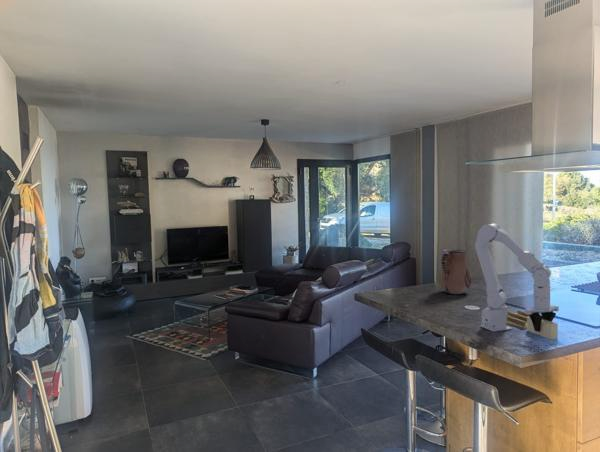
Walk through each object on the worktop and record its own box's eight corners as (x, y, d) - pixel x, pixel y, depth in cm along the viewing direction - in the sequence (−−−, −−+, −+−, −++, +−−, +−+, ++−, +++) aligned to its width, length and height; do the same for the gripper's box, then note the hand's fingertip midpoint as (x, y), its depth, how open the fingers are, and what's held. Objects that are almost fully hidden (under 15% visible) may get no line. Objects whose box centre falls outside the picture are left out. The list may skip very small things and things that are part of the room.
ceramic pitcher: (475, 291, 247) (475, 249, 245) (462, 298, 231) (461, 253, 230) (446, 288, 258) (445, 247, 257) (431, 294, 243) (431, 251, 241)
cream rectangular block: (551, 339, 162) (551, 324, 161) (527, 330, 173) (526, 316, 173) (557, 338, 163) (557, 323, 162) (533, 330, 174) (533, 315, 174)
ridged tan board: (522, 329, 175) (522, 323, 175) (492, 318, 193) (492, 312, 192) (553, 325, 179) (553, 319, 179) (521, 314, 197) (521, 309, 196)
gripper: (534, 300, 161) (534, 335, 162) (565, 297, 165) (565, 331, 166) (520, 296, 168) (520, 330, 169) (550, 293, 172) (550, 326, 173)
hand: (541, 330), depth 168 cm, fingers open, 4 cm apart
